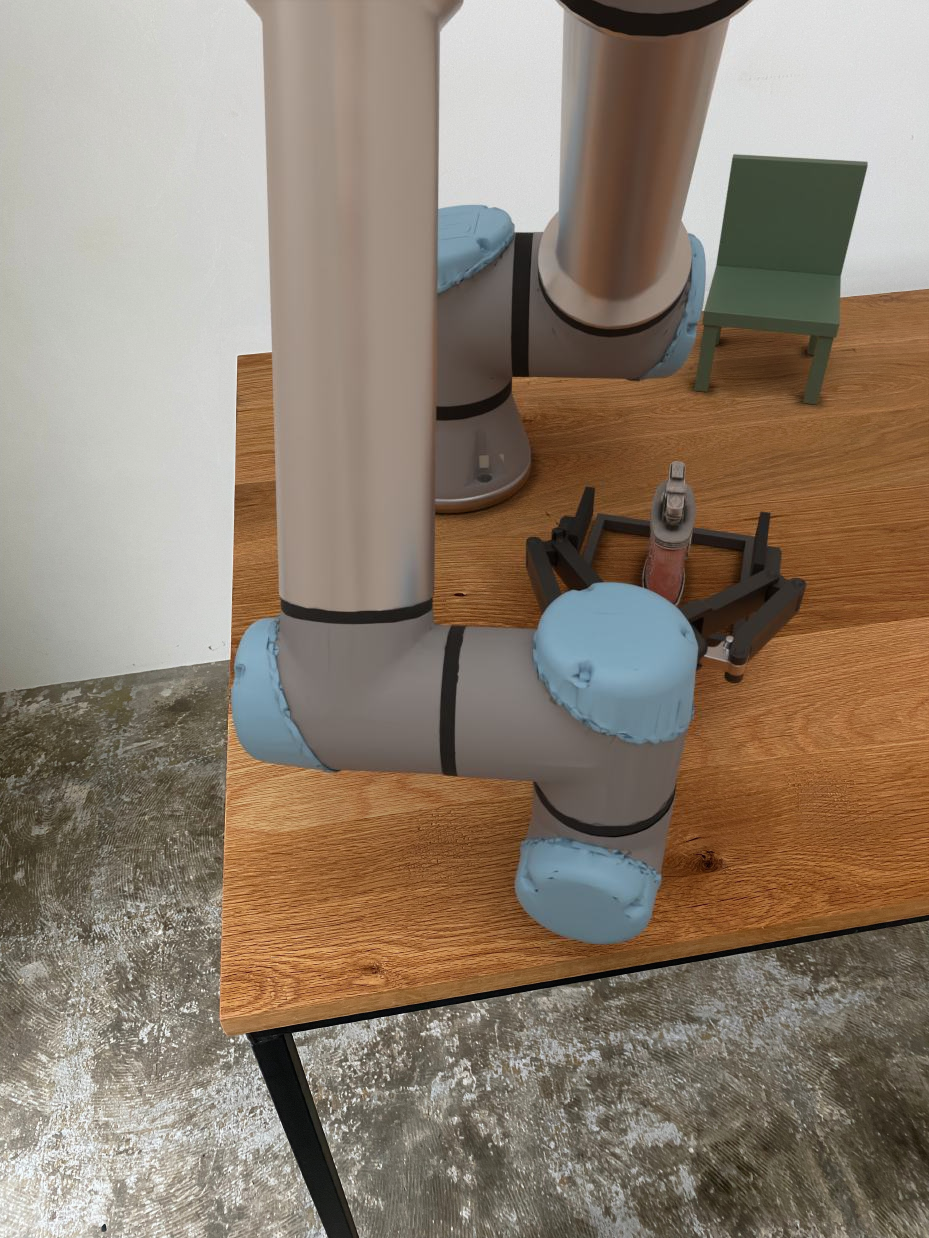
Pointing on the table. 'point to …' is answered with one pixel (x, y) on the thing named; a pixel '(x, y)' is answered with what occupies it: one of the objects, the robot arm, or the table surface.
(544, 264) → the robot arm
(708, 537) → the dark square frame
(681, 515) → the lighter
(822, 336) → the chair
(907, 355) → the table surface
